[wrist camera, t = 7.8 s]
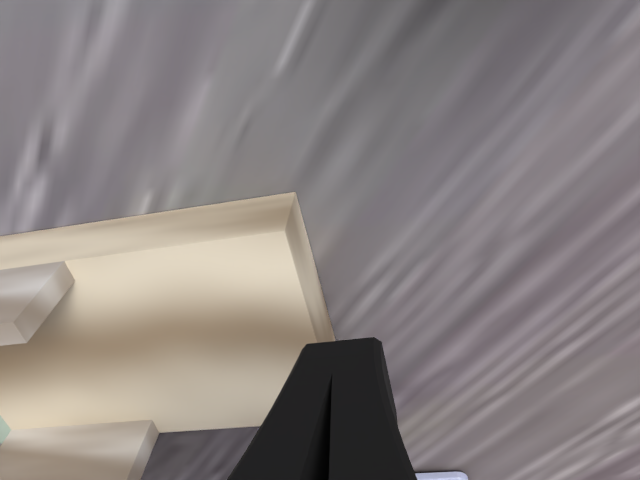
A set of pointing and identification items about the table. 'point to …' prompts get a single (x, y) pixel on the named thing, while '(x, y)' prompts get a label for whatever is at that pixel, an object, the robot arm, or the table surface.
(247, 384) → the board
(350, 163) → the table surface
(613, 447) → the table surface
